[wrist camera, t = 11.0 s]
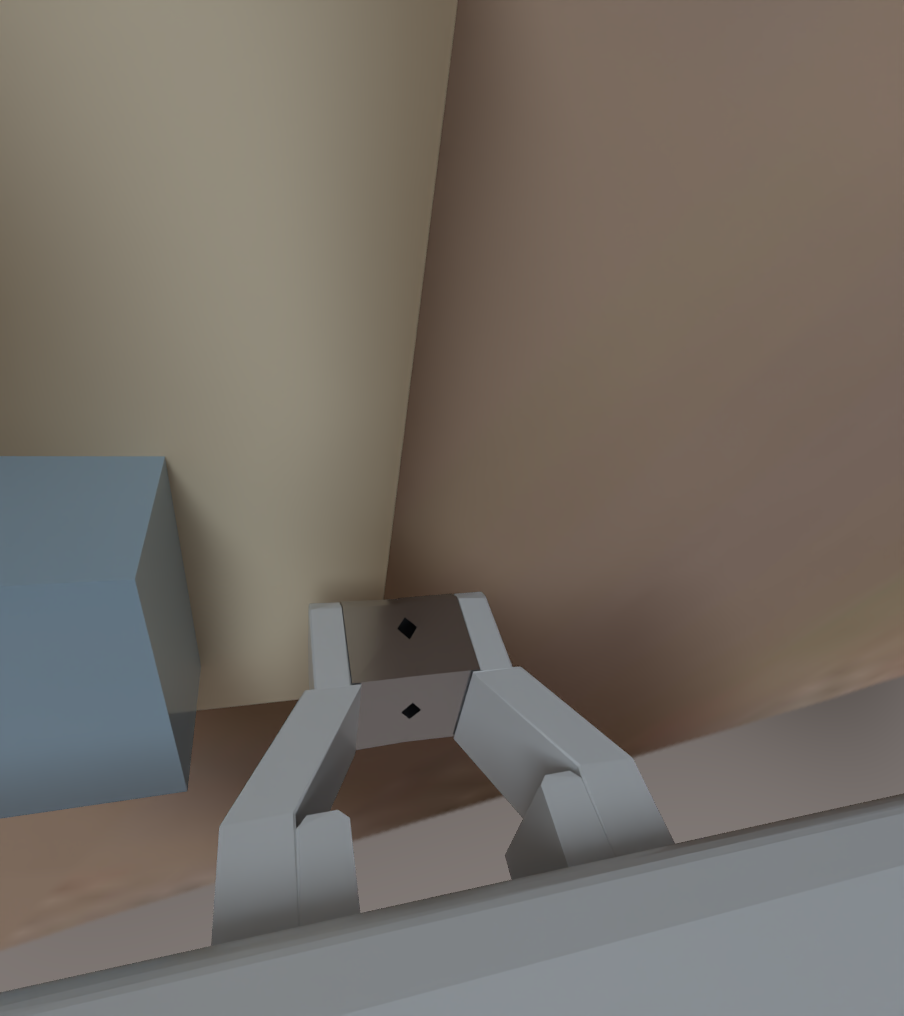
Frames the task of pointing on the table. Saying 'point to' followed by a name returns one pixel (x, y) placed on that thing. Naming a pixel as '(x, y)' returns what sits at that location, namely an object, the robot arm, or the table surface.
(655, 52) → the table surface
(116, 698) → the tile
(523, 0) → the table surface
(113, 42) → the beige shallow box
